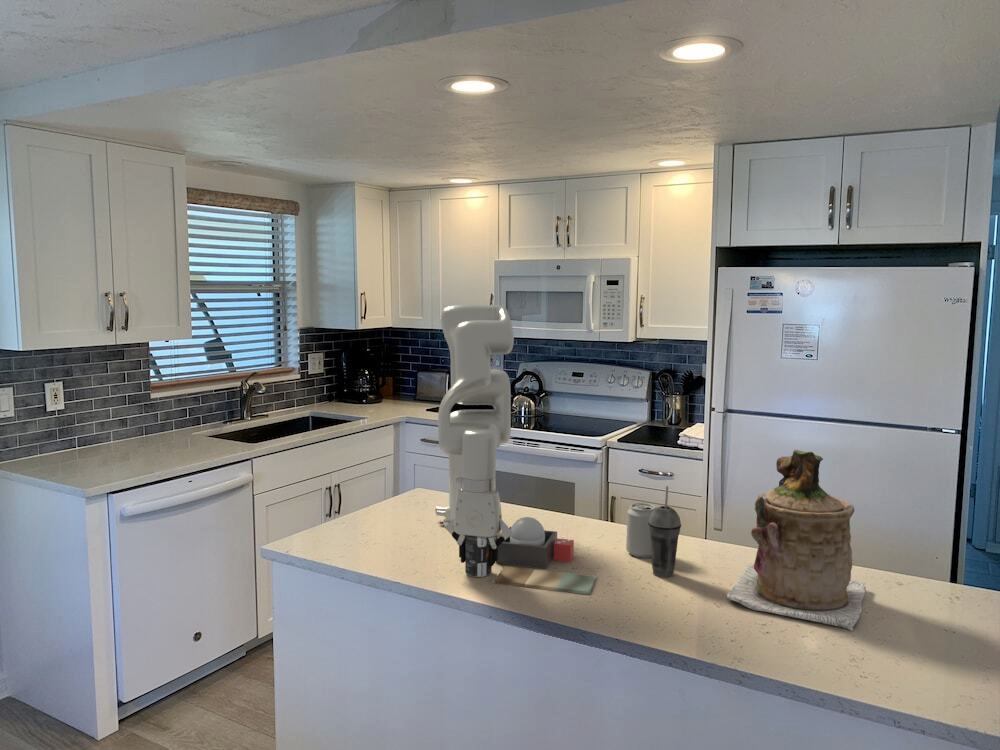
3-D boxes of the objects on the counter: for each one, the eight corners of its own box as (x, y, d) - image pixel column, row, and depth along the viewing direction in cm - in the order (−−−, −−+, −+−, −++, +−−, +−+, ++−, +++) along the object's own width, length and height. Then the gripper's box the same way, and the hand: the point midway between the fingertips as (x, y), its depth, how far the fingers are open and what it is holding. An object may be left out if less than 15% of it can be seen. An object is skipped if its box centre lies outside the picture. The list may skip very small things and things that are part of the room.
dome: (505, 555, 173) (505, 521, 172) (514, 544, 181) (515, 511, 180) (540, 559, 171) (540, 524, 170) (548, 548, 179) (548, 514, 178)
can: (648, 561, 174) (650, 511, 173) (620, 554, 179) (621, 506, 177) (662, 552, 180) (663, 504, 179) (634, 546, 185) (636, 499, 183)
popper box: (495, 563, 172) (496, 542, 172) (509, 546, 184) (510, 526, 183) (565, 571, 168) (565, 549, 167) (575, 553, 179) (575, 533, 178)
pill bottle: (491, 578, 163) (491, 528, 162) (464, 577, 163) (464, 528, 162) (491, 568, 169) (492, 520, 168) (465, 567, 169) (466, 520, 168)
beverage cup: (642, 576, 165) (645, 489, 163) (651, 565, 171) (654, 481, 169) (674, 582, 161) (677, 493, 159) (683, 571, 168) (686, 485, 166)
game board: (493, 582, 160) (493, 580, 160) (505, 568, 169) (505, 565, 169) (589, 594, 154) (589, 591, 154) (596, 578, 163) (596, 576, 163)
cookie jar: (867, 590, 158) (877, 443, 155) (857, 635, 137) (867, 467, 133) (749, 567, 171) (755, 432, 167) (722, 606, 149) (729, 451, 146)
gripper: (436, 485, 163) (436, 564, 165) (511, 491, 158) (510, 572, 160) (448, 477, 170) (448, 552, 172) (520, 483, 165) (519, 560, 167)
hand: (478, 561), depth 166 cm, fingers closed on pill bottle, 6 cm apart
